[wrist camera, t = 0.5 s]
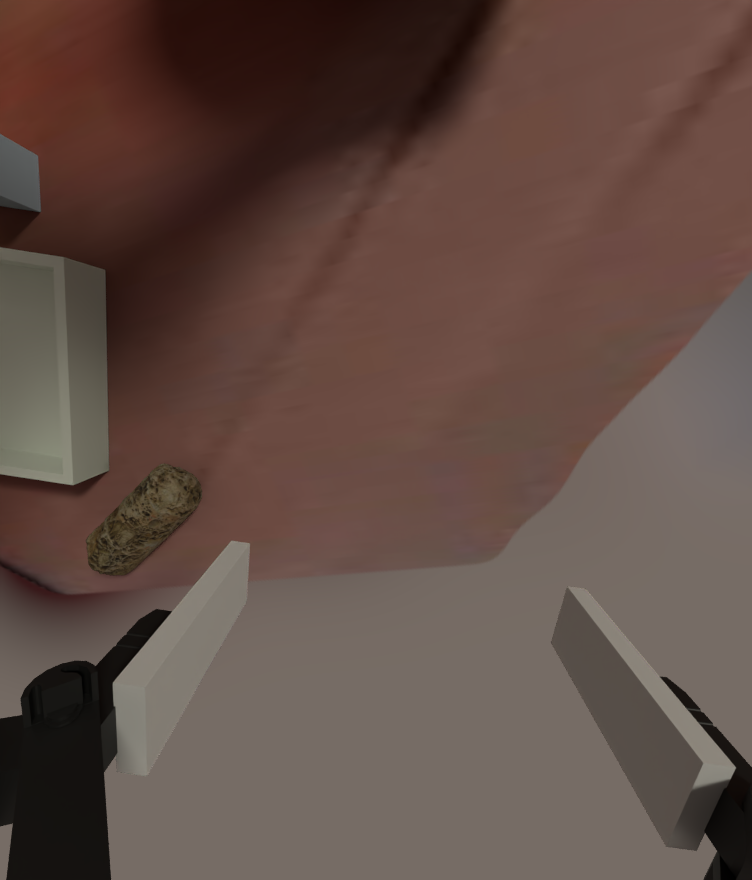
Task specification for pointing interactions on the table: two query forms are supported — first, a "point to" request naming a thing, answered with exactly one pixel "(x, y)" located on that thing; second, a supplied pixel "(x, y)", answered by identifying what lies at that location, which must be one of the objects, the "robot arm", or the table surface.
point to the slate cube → (18, 177)
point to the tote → (52, 368)
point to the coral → (143, 520)
